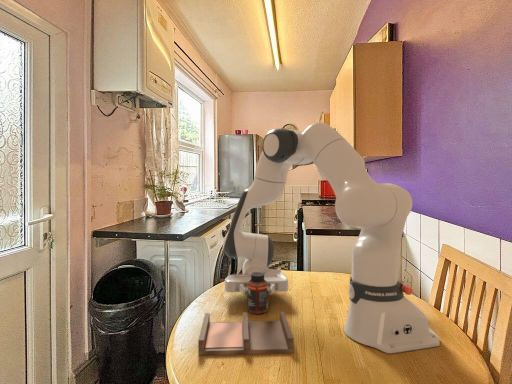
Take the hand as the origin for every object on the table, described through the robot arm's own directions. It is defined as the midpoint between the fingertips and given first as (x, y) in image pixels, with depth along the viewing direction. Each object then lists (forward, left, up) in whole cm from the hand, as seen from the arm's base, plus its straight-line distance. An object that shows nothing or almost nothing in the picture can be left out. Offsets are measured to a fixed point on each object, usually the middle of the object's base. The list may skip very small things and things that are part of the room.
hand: (257, 292), depth 93 cm
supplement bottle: (0, -1, -6) cm, 6 cm away
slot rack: (+4, +15, -6) cm, 17 cm away
